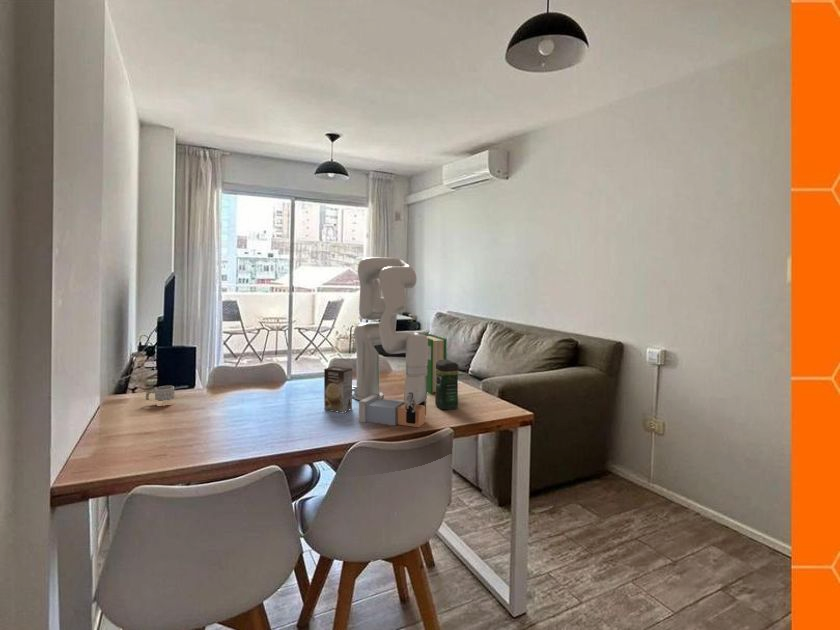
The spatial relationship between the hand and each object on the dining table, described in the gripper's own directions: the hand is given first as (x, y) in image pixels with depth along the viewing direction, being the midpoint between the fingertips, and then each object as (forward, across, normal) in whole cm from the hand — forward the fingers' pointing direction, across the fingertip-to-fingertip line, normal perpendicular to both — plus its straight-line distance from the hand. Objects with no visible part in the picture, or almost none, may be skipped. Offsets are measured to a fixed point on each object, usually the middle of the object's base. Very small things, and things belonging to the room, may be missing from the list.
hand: (416, 418), depth 158 cm
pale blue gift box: (+2, 0, -13) cm, 13 cm away
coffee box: (+2, -4, -34) cm, 34 cm away
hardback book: (+2, -48, -13) cm, 50 cm away
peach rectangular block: (+2, 0, -2) cm, 3 cm away
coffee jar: (+2, -24, +3) cm, 24 cm away
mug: (+2, +18, -102) cm, 104 cm away
